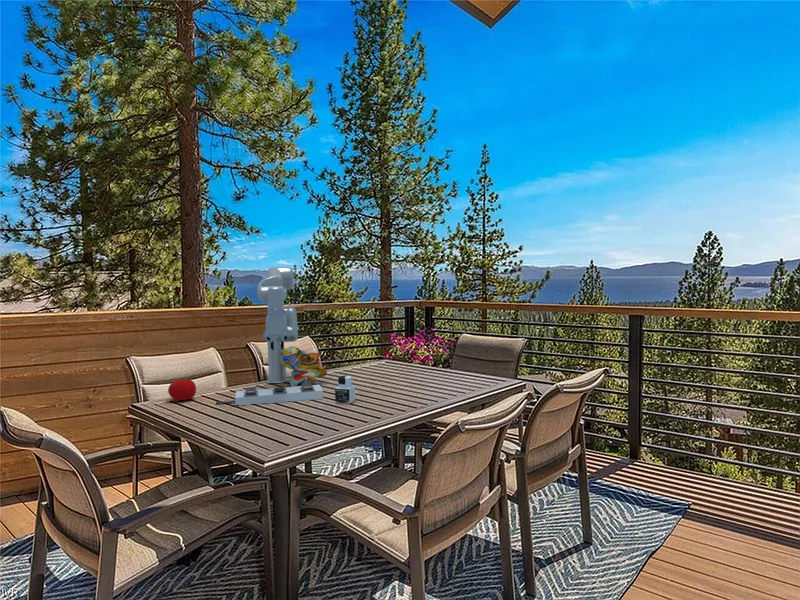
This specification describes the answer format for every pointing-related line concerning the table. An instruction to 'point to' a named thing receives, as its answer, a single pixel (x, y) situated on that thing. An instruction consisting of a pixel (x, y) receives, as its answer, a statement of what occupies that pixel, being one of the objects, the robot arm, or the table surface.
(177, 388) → the tomato
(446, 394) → the table surface
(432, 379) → the table surface
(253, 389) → the rocker
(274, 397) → the rocker switch panel
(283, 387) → the rocker middle
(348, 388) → the medicine bottle
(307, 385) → the rocker
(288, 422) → the table surface
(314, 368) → the multicoloured irregular chunky piece
